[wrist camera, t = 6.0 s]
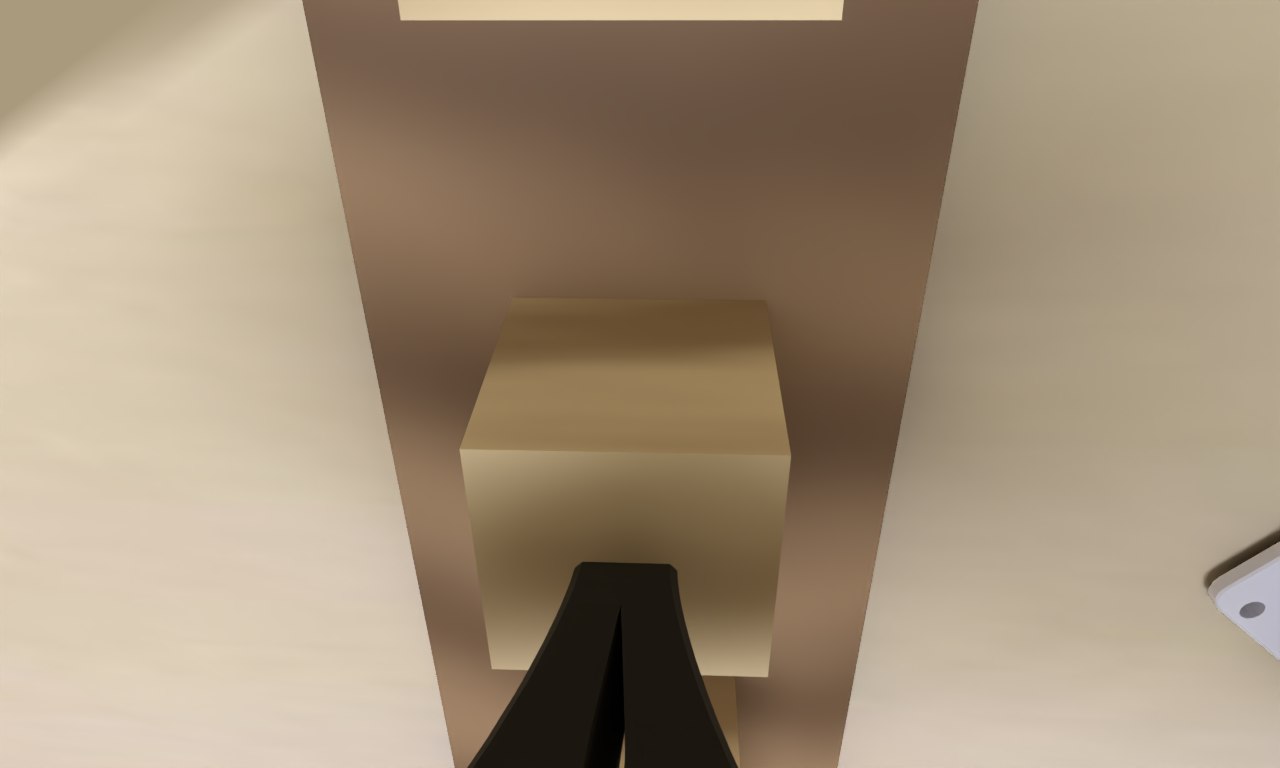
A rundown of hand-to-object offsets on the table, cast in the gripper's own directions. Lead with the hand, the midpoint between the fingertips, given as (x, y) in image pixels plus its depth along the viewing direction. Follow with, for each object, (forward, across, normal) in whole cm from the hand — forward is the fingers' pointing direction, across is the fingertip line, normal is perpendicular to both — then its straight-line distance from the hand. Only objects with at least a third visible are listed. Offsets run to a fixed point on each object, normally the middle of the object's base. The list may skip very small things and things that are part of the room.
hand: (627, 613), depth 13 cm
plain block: (+5, 0, 0) cm, 5 cm away
